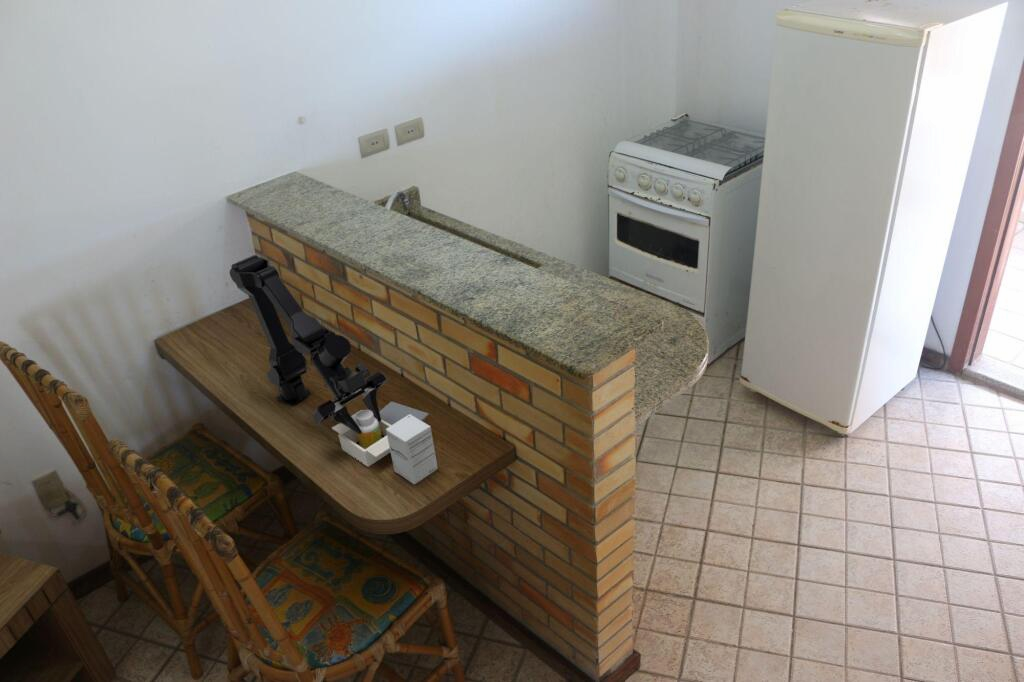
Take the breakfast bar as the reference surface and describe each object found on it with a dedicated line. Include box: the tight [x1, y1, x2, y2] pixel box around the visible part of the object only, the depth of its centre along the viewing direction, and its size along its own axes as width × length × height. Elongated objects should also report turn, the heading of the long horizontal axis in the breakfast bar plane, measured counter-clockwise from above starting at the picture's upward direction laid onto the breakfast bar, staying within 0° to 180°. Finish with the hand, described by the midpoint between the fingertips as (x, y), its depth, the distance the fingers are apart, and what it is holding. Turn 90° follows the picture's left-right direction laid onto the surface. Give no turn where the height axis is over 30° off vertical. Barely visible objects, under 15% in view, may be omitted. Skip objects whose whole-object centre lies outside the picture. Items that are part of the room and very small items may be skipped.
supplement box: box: [386, 414, 438, 485], centre depth 188 cm, size 7×7×13 cm
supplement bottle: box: [356, 409, 383, 449], centre depth 198 cm, size 5×5×10 cm
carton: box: [331, 409, 391, 468], centre depth 199 cm, size 17×10×4 cm, turn 46°
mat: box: [379, 401, 430, 425], centre depth 209 cm, size 12×8×1 cm, turn 58°
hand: (370, 427), depth 196 cm, fingers closed on supplement bottle, 5 cm apart
